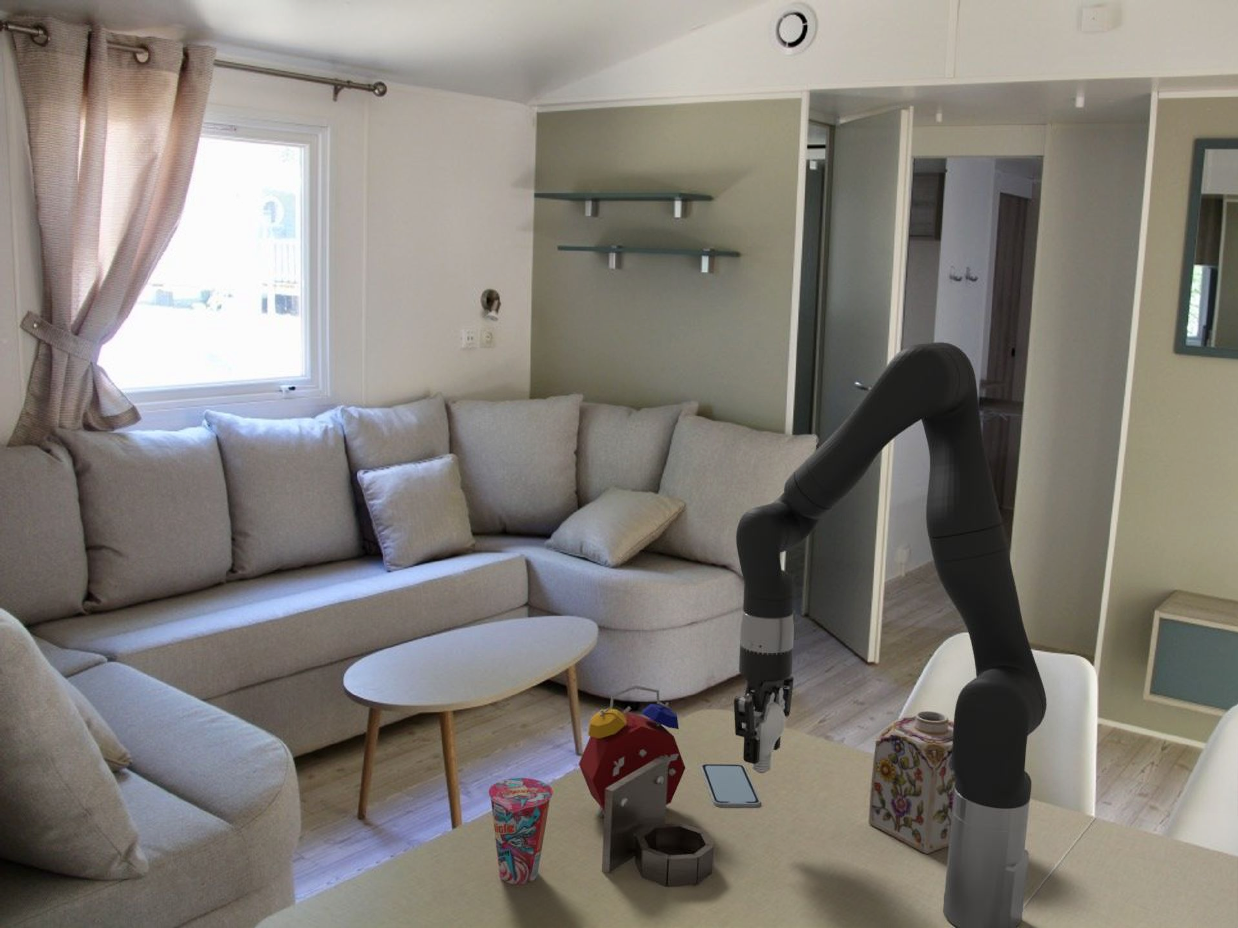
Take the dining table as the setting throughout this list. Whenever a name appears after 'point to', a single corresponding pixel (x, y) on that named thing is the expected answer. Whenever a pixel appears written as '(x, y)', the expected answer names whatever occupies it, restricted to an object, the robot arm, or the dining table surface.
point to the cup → (519, 826)
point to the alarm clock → (629, 746)
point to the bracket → (652, 831)
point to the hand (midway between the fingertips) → (761, 754)
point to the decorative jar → (914, 781)
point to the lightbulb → (769, 736)
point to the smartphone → (730, 785)
